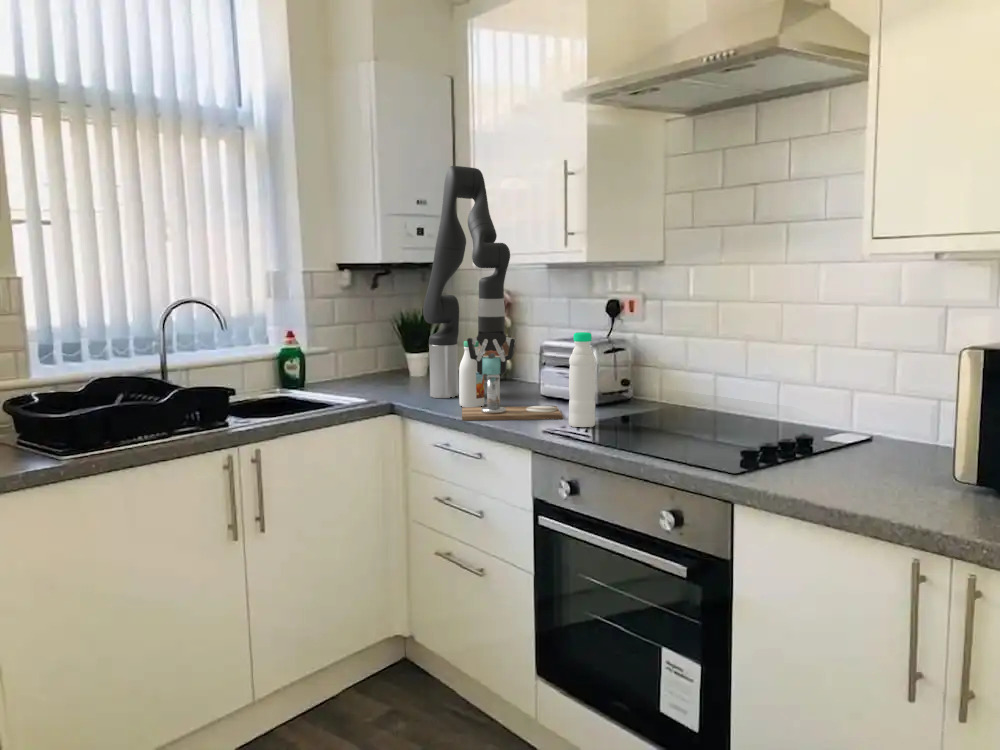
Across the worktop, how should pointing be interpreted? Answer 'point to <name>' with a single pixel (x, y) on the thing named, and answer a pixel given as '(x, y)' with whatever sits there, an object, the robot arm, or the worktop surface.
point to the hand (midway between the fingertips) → (491, 374)
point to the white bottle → (582, 382)
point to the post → (493, 396)
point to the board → (513, 413)
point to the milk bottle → (470, 381)
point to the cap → (491, 364)
